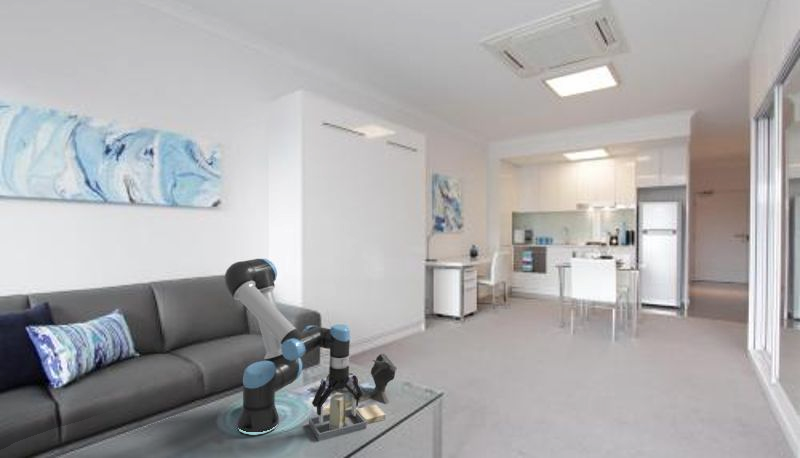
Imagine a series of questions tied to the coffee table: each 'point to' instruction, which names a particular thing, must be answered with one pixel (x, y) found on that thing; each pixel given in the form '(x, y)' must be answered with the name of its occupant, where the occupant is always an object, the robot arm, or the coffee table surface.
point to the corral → (338, 431)
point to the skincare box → (337, 411)
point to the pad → (371, 414)
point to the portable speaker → (347, 384)
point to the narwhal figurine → (382, 377)
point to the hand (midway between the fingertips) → (337, 418)
